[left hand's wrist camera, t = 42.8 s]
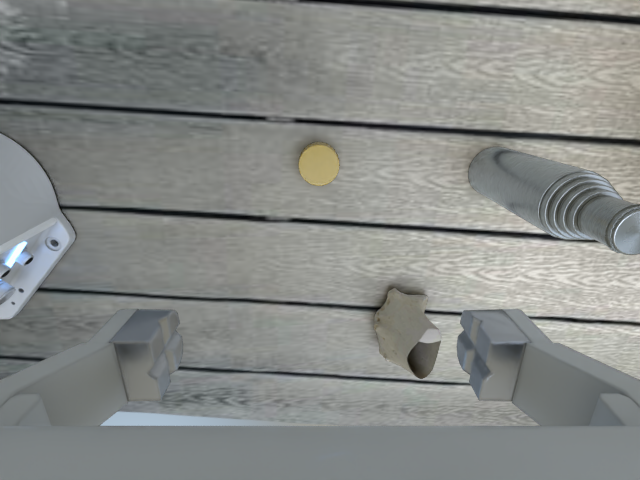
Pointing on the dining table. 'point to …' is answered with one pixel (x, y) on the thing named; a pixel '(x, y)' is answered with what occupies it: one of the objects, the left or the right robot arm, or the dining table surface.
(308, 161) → the cap
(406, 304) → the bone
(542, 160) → the bottle
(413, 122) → the dining table surface
